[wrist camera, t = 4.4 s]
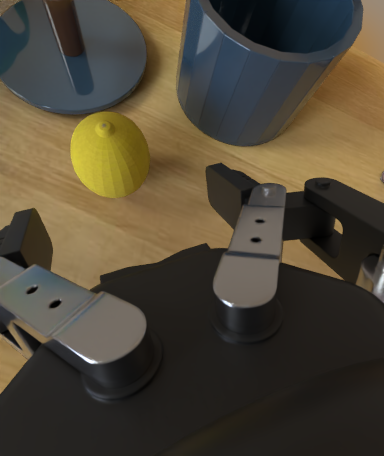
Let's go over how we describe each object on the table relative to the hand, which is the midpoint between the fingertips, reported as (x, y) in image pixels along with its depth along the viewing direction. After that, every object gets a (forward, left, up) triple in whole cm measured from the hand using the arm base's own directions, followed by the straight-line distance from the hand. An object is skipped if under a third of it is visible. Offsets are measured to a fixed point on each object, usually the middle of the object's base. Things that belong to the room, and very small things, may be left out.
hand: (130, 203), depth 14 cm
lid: (-6, +19, -10) cm, 22 cm away
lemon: (-2, +6, -11) cm, 12 cm away
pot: (+10, +16, -10) cm, 22 cm away
